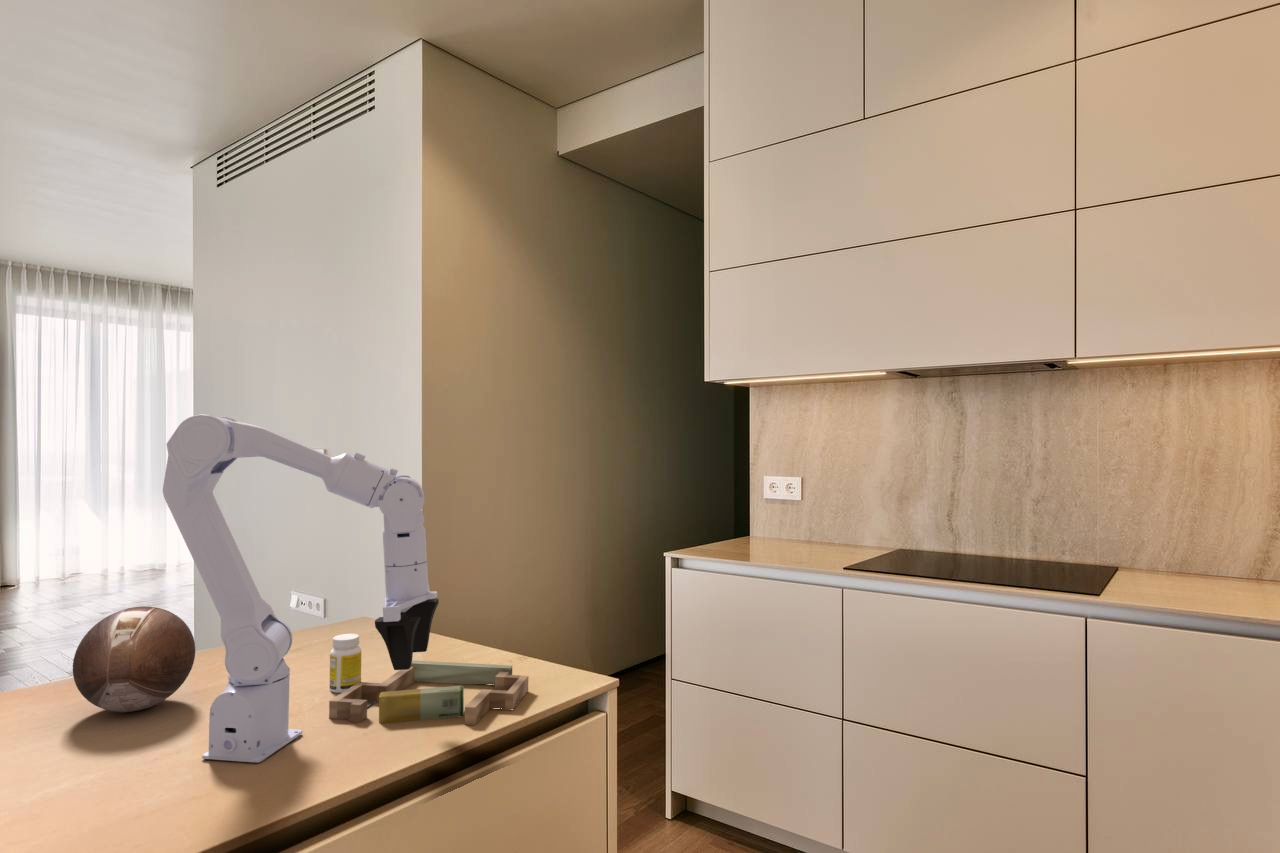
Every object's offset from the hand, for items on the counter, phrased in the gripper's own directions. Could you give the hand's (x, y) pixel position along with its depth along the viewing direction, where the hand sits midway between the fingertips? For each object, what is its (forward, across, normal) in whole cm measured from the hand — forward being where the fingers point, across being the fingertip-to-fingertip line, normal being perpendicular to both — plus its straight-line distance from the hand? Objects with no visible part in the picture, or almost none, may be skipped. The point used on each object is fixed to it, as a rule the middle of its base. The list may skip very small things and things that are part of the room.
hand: (411, 659), depth 101 cm
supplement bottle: (+9, +17, +16) cm, 25 cm away
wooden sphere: (+7, +7, +44) cm, 45 cm away
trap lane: (+10, +11, 0) cm, 15 cm away
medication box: (+10, +5, +1) cm, 12 cm away
